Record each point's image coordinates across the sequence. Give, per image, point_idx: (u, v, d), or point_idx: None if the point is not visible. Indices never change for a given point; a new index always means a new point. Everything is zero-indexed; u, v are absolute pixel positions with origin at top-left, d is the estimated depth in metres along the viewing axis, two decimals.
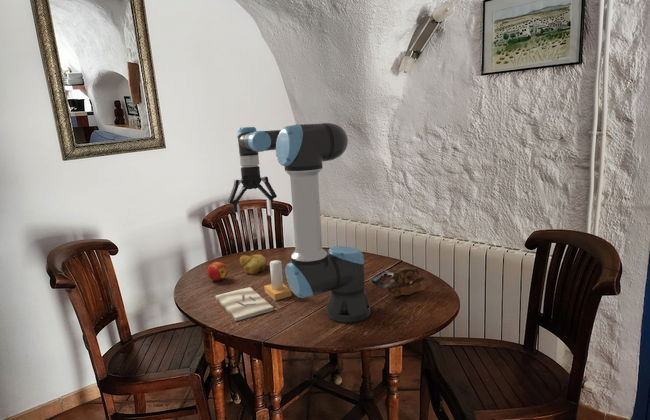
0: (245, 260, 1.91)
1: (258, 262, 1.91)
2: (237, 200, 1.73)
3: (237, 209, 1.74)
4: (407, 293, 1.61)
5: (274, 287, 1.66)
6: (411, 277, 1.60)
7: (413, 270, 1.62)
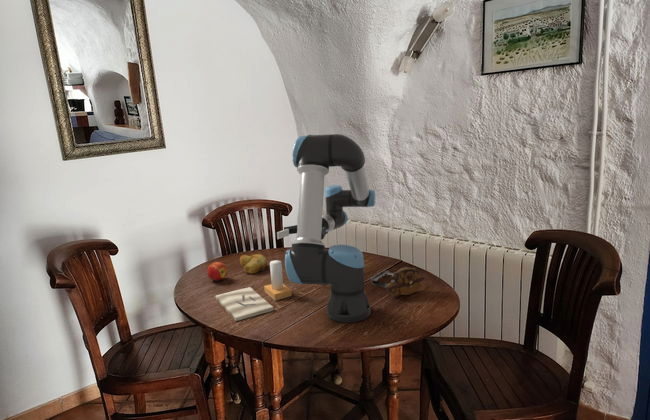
0: (245, 260, 1.91)
1: (258, 262, 1.91)
2: (290, 228, 1.82)
3: None
4: (407, 293, 1.61)
5: (274, 287, 1.66)
6: (411, 277, 1.60)
7: (413, 270, 1.62)
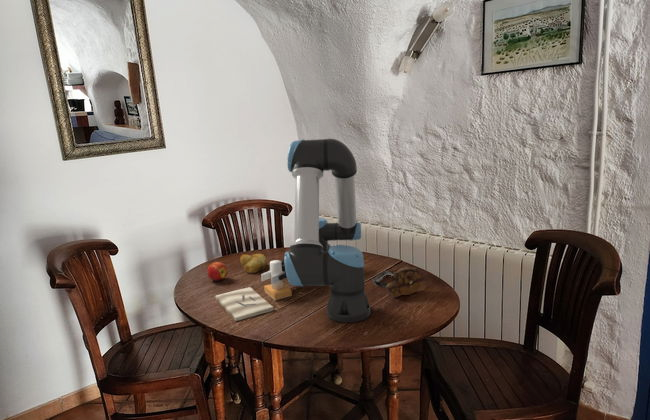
0: (246, 259, 1.92)
1: (258, 261, 1.92)
2: None
3: None
4: (407, 293, 1.61)
5: (274, 287, 1.66)
6: (411, 277, 1.60)
7: (413, 270, 1.62)
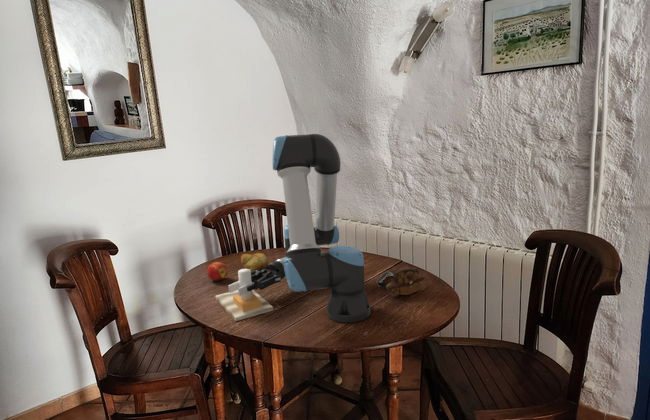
0: (246, 258, 1.93)
1: (258, 261, 1.93)
2: None
3: None
4: (407, 293, 1.61)
5: (243, 298, 1.55)
6: (411, 277, 1.60)
7: (413, 270, 1.62)
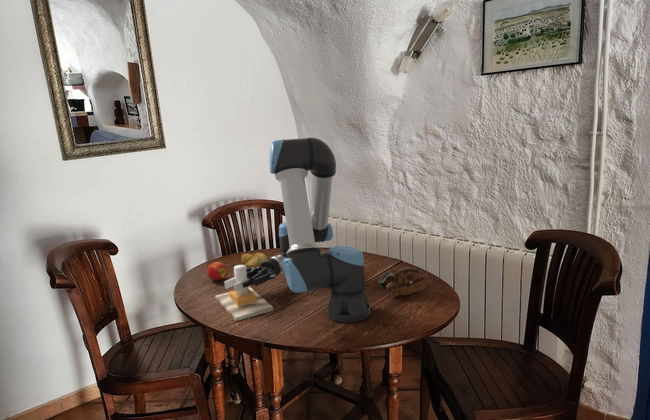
0: (246, 258, 1.94)
1: (258, 261, 1.93)
2: None
3: None
4: (407, 293, 1.61)
5: (238, 293, 1.59)
6: (411, 277, 1.60)
7: (413, 270, 1.62)
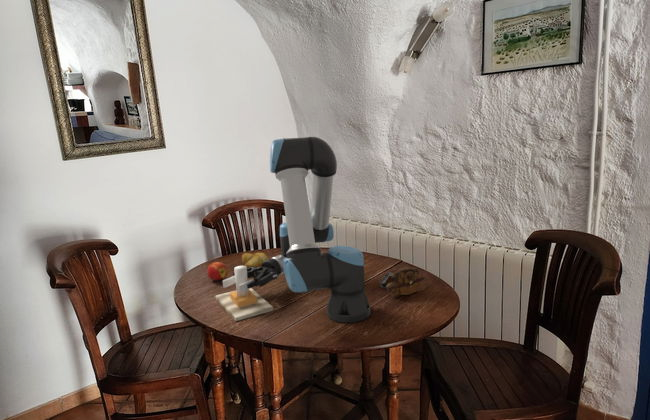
0: (247, 258, 1.94)
1: (259, 260, 1.93)
2: None
3: None
4: (407, 293, 1.61)
5: (239, 294, 1.58)
6: (411, 277, 1.60)
7: (413, 270, 1.62)
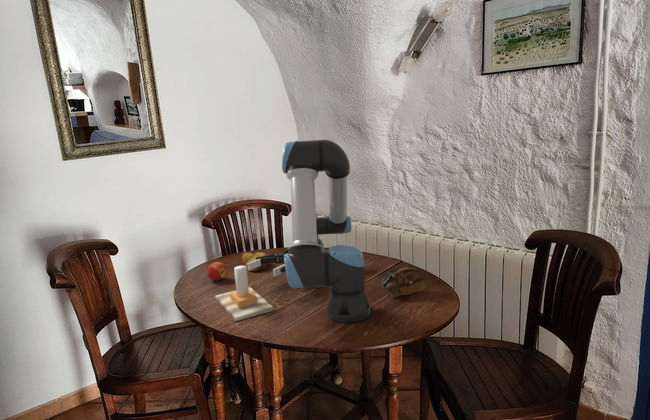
0: (247, 257, 1.95)
1: None
2: (262, 258, 1.77)
3: None
4: (407, 293, 1.61)
5: (239, 294, 1.58)
6: (411, 277, 1.60)
7: (413, 270, 1.62)
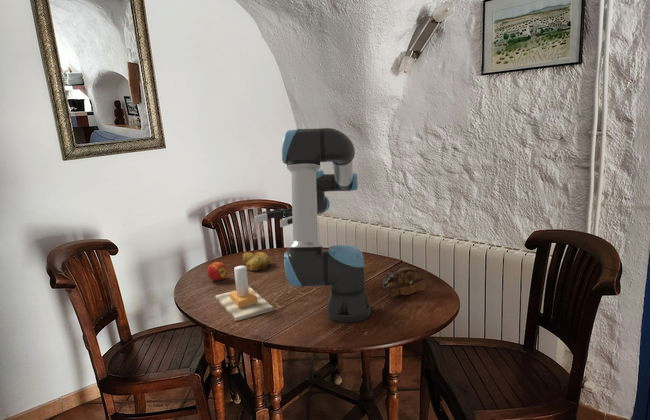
0: (247, 257, 1.95)
1: (259, 260, 1.94)
2: (269, 212, 1.77)
3: None
4: (407, 293, 1.61)
5: (239, 294, 1.58)
6: (411, 277, 1.60)
7: (413, 270, 1.62)
